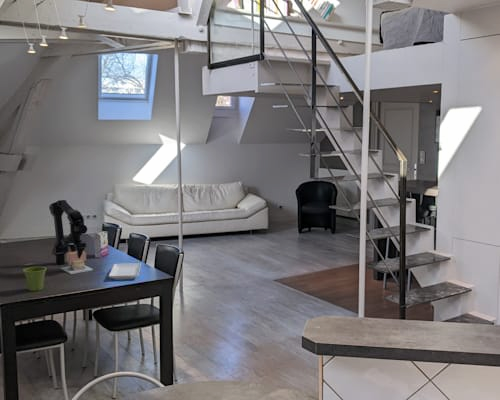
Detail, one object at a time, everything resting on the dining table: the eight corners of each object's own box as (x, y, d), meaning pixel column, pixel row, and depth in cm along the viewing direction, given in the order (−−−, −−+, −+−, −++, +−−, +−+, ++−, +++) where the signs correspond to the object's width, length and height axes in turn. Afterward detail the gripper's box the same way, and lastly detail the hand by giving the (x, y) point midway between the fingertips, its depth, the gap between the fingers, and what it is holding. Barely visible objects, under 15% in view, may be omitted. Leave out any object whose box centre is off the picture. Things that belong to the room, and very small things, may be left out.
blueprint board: (61, 269, 344) (61, 267, 344) (82, 265, 352) (82, 264, 352) (70, 273, 331) (70, 272, 331) (92, 270, 340) (92, 268, 340)
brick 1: (70, 262, 336) (69, 254, 335) (66, 260, 340) (66, 252, 340) (86, 260, 342) (85, 252, 341) (82, 258, 347) (82, 250, 346)
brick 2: (69, 267, 344) (68, 259, 343) (78, 266, 347) (78, 258, 347) (75, 270, 336) (74, 262, 335) (84, 269, 340) (84, 261, 339)
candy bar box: (102, 254, 386) (101, 231, 384) (108, 254, 385) (107, 231, 383) (94, 257, 375) (93, 234, 373) (101, 258, 374) (100, 234, 372)
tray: (141, 267, 347) (141, 262, 347) (138, 280, 317) (138, 274, 316) (114, 268, 345) (114, 263, 345) (108, 281, 314) (108, 276, 314)
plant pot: (44, 292, 293) (43, 271, 292) (21, 292, 292) (19, 272, 291) (50, 286, 305) (49, 266, 303) (28, 286, 304) (27, 266, 302)
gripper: (56, 231, 341) (58, 256, 343) (68, 235, 327) (69, 261, 329) (74, 229, 348) (75, 253, 350) (86, 233, 334) (87, 258, 336)
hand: (76, 256), depth 341 cm, fingers open, 9 cm apart
